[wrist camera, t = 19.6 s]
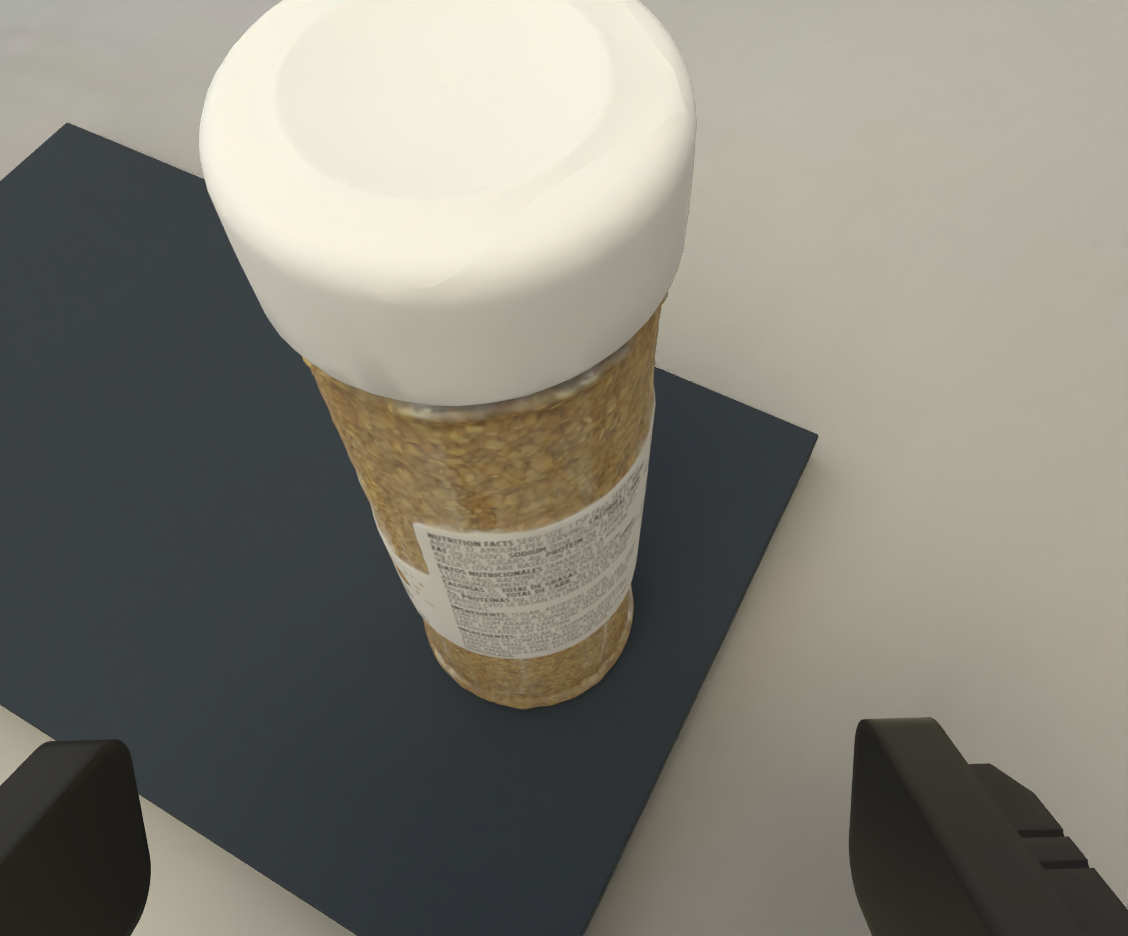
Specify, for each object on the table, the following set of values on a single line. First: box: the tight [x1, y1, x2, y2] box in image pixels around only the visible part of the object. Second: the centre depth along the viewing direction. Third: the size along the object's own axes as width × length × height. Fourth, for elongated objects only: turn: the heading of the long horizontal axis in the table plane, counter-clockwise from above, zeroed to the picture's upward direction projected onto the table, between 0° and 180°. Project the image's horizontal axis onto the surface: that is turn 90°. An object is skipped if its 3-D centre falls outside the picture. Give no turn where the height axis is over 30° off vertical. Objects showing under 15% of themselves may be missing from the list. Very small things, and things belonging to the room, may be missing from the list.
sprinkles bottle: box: [199, 0, 697, 709], centre depth 14 cm, size 5×5×13 cm
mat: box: [0, 123, 818, 936], centre depth 22 cm, size 24×14×1 cm, turn 62°
